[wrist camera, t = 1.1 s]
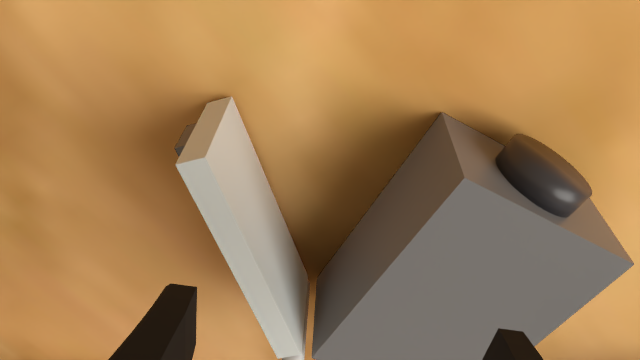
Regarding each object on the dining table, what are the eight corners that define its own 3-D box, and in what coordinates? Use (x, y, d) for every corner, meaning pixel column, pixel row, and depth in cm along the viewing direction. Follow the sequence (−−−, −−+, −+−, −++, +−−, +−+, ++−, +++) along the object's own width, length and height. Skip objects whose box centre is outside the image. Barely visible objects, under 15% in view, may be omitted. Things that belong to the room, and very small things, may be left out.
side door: (313, 289, 25) (307, 368, 21) (283, 294, 25) (273, 373, 21) (231, 96, 19) (205, 157, 16) (195, 105, 20) (160, 168, 16)
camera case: (438, 329, 26) (454, 411, 22) (317, 278, 24) (311, 358, 21) (601, 170, 21) (658, 244, 17) (457, 90, 19) (485, 153, 15)
